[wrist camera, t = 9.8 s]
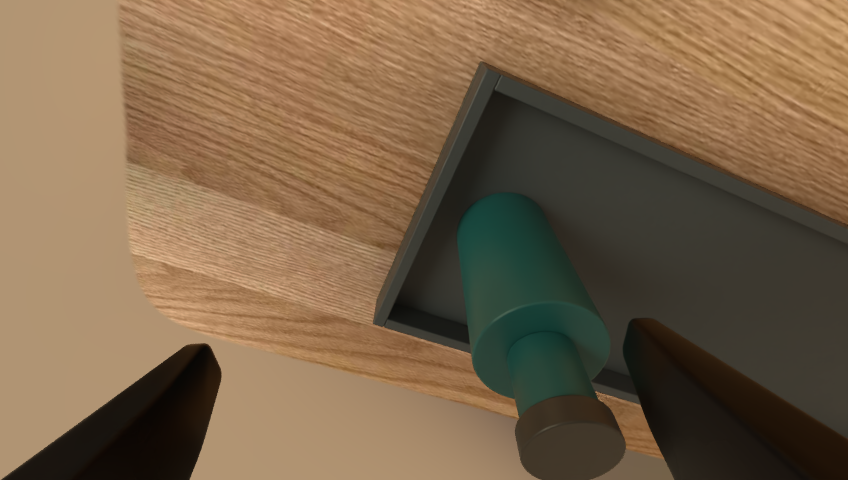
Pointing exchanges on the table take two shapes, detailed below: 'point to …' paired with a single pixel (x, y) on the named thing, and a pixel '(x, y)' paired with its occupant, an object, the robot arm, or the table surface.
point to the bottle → (537, 338)
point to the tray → (636, 244)
